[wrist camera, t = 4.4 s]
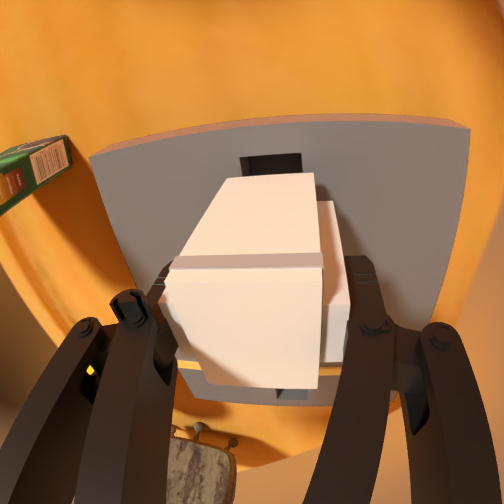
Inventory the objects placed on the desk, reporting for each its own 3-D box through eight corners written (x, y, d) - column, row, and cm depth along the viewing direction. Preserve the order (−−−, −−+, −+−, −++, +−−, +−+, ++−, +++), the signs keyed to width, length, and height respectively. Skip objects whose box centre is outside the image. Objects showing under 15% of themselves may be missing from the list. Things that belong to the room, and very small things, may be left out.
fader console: (110, 145, 17) (86, 158, 15) (450, 119, 13) (472, 130, 11) (200, 379, 31) (194, 399, 29) (390, 382, 27) (393, 403, 25)
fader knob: (237, 160, 16) (161, 279, 8) (312, 155, 15) (324, 279, 7) (249, 239, 19) (207, 383, 10) (316, 237, 18) (318, 389, 10)
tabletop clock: (164, 425, 44) (126, 543, 24) (153, 405, 39) (105, 543, 19) (245, 443, 43) (218, 569, 22) (247, 425, 38) (214, 578, 17)
